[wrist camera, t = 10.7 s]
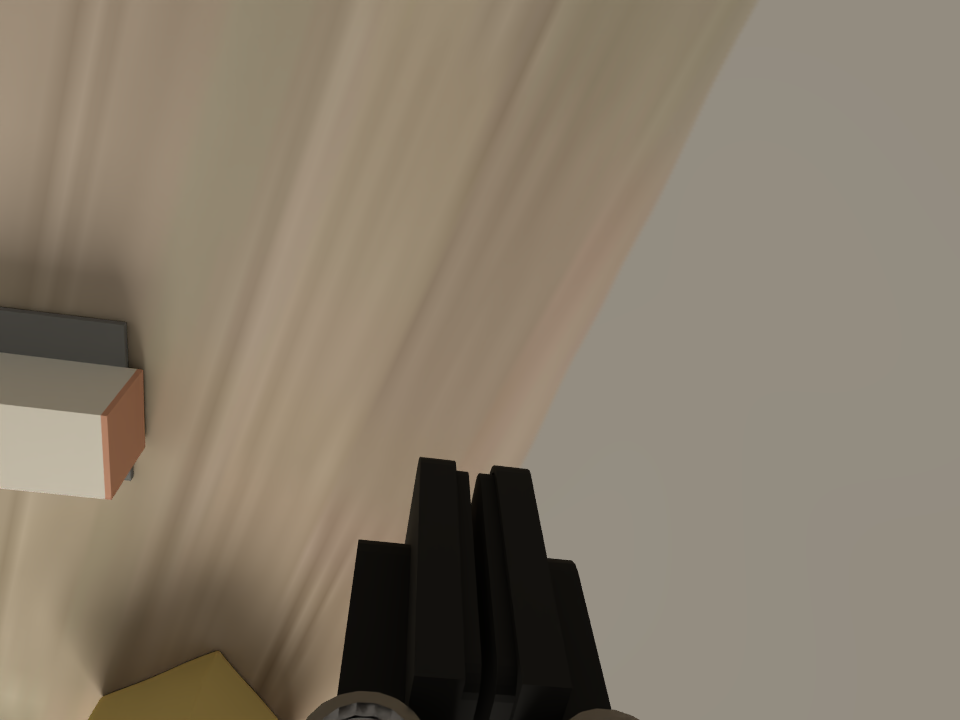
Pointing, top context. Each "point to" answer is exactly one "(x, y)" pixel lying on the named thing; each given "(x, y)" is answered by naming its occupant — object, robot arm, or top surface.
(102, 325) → the mat
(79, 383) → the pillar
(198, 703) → the cheese
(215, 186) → the top surface
